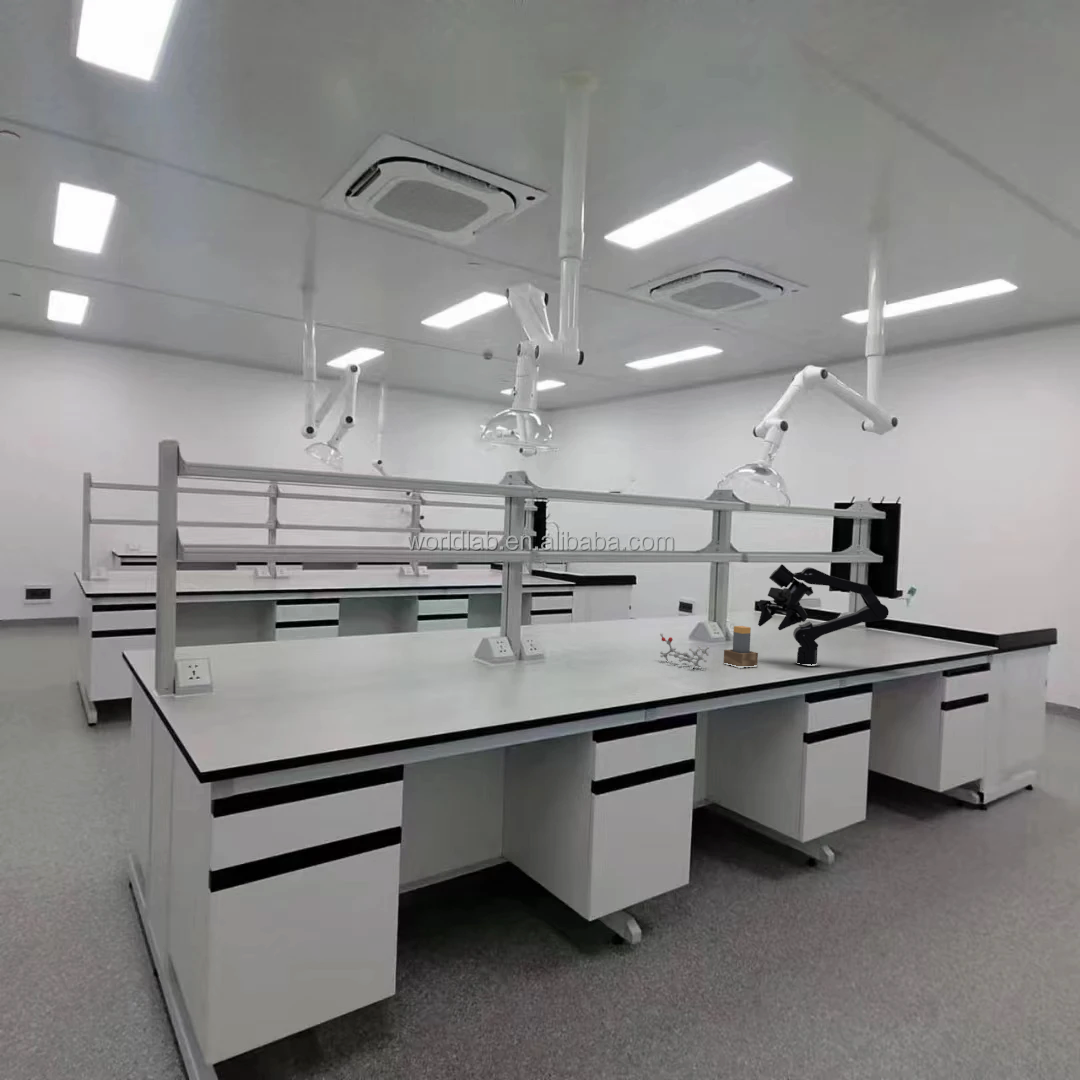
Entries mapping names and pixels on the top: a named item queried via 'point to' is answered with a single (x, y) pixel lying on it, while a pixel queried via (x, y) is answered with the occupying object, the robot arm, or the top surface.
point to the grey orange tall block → (741, 639)
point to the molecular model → (689, 658)
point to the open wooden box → (740, 658)
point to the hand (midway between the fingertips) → (768, 627)
